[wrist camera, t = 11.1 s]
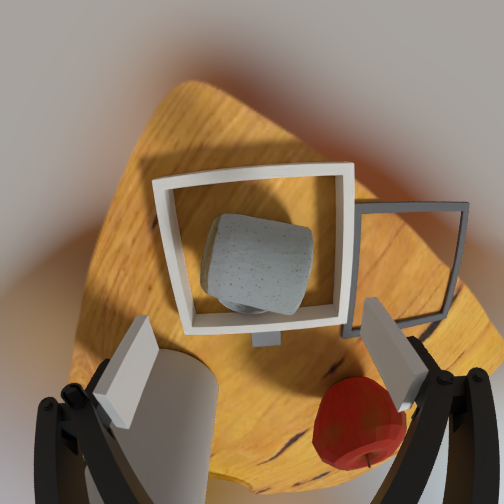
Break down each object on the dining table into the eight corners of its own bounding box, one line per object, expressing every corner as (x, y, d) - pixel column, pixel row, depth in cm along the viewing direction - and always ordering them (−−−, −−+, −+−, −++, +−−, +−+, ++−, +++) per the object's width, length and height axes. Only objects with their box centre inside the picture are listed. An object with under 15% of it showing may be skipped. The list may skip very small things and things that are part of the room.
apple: (400, 368, 33) (435, 441, 20) (348, 414, 37) (366, 484, 24) (342, 345, 31) (375, 440, 18) (288, 399, 35) (296, 484, 22)
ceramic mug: (218, 201, 25) (203, 226, 18) (305, 217, 25) (324, 248, 18) (205, 298, 29) (191, 346, 22) (280, 310, 29) (286, 360, 22)
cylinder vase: (226, 405, 36) (212, 560, 12) (149, 401, 36) (109, 536, 13) (209, 345, 31) (172, 556, 8) (119, 343, 32) (42, 504, 8)
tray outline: (341, 336, 30) (342, 339, 30) (350, 203, 24) (351, 204, 24) (444, 316, 30) (446, 318, 29) (467, 202, 24) (469, 202, 23)
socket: (193, 334, 30) (189, 348, 28) (161, 176, 24) (151, 180, 21) (339, 324, 30) (344, 337, 27) (344, 161, 23) (353, 163, 21)
